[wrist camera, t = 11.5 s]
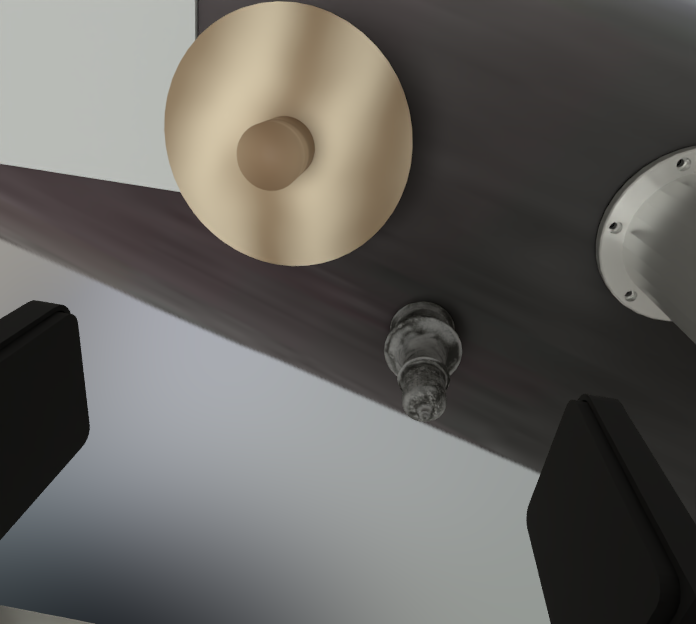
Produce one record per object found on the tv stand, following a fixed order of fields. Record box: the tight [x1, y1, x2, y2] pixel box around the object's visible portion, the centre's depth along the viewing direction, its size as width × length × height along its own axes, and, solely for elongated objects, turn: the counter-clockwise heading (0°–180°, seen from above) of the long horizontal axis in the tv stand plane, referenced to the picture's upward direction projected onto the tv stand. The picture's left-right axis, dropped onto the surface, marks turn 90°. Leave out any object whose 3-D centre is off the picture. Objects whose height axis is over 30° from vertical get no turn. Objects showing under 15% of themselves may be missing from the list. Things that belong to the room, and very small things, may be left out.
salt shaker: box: [384, 301, 462, 422], centre depth 37 cm, size 6×6×12 cm
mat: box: [0, 0, 197, 192], centre depth 36 cm, size 17×17×1 cm
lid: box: [164, 1, 413, 266], centre depth 29 cm, size 15×15×5 cm
